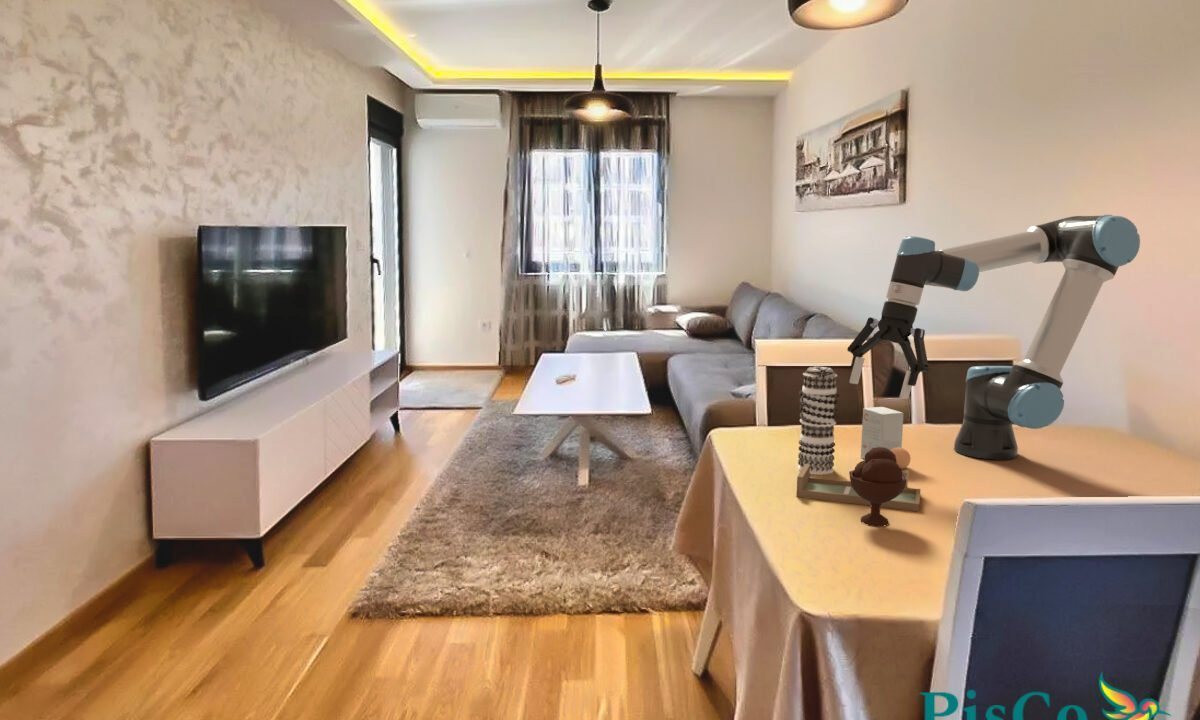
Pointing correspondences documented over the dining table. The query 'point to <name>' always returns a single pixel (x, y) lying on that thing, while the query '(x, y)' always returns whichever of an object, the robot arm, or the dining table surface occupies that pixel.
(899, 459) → the ball
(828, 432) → the decorative candle
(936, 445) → the dining table surface
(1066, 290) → the robot arm
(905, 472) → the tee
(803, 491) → the tray
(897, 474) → the ice cream bowl
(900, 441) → the small box
